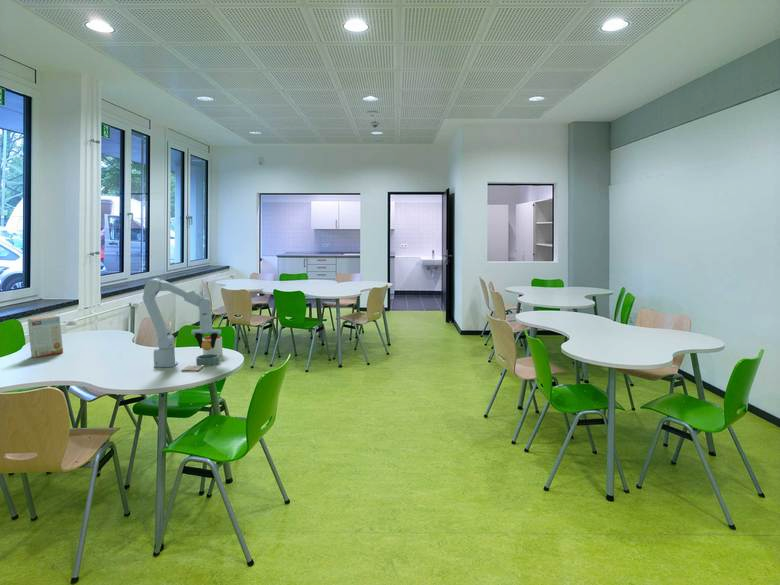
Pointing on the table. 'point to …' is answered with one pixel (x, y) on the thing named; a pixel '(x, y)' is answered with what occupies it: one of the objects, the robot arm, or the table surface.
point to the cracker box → (45, 336)
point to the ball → (206, 344)
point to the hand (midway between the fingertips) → (207, 347)
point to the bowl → (207, 359)
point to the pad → (192, 368)
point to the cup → (216, 349)
